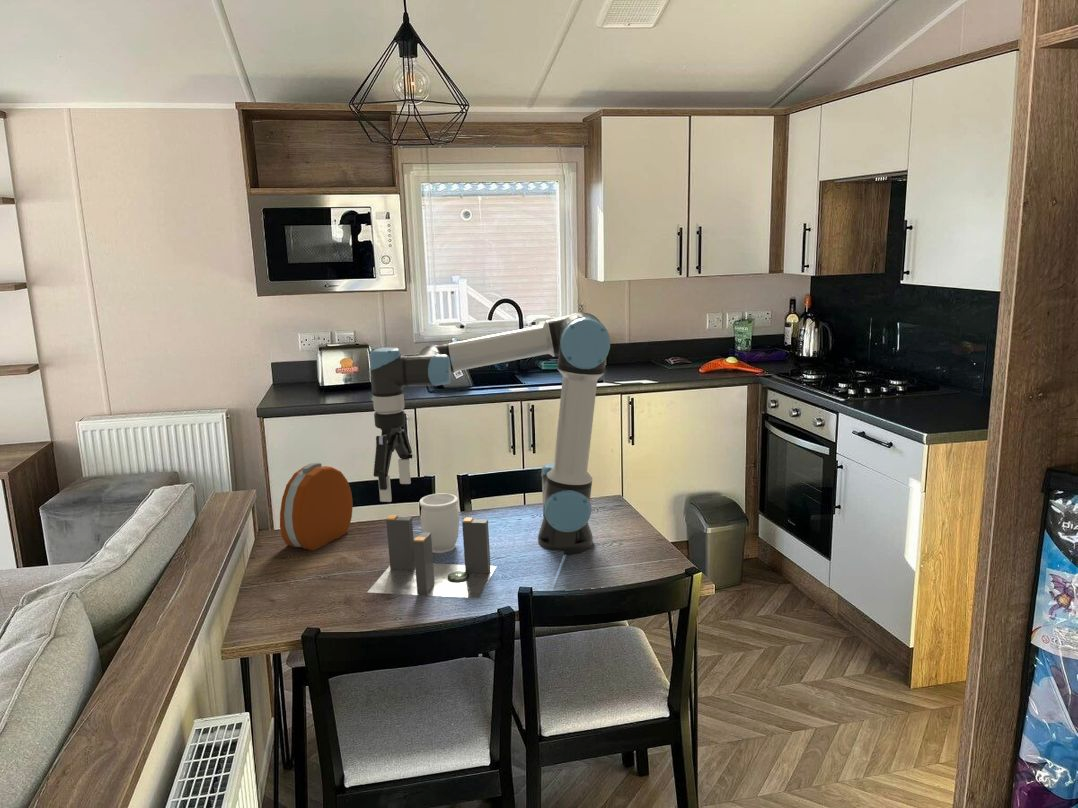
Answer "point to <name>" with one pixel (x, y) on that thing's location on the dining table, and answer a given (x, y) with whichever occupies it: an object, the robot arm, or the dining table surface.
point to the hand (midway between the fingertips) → (396, 492)
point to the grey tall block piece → (476, 545)
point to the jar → (440, 520)
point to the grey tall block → (400, 542)
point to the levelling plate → (446, 578)
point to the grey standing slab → (424, 563)
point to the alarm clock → (315, 507)
